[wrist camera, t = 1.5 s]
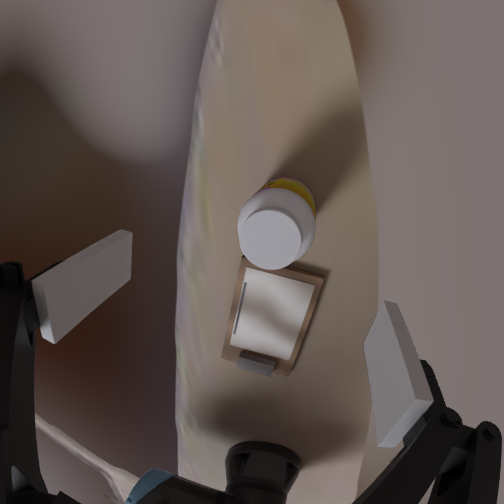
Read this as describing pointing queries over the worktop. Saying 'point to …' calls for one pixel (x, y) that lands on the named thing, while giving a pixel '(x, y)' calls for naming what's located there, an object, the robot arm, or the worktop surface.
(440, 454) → the robot arm
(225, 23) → the worktop surface
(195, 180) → the worktop surface
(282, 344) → the clipboard
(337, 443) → the worktop surface
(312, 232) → the supplement bottle
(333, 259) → the worktop surface
